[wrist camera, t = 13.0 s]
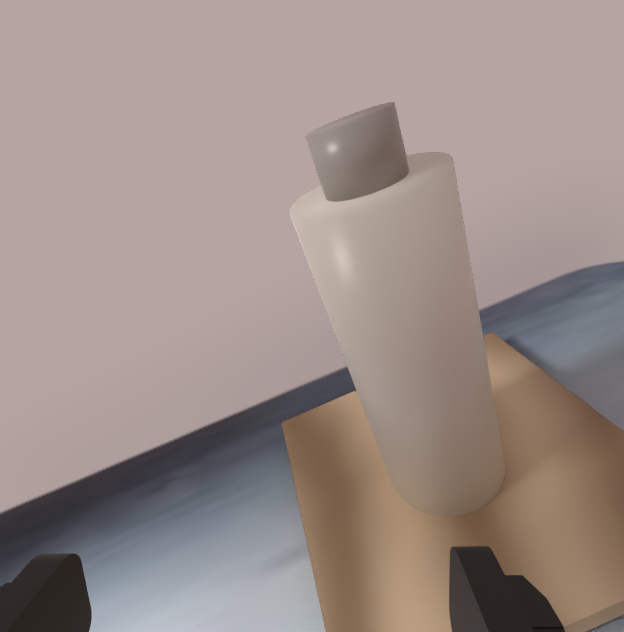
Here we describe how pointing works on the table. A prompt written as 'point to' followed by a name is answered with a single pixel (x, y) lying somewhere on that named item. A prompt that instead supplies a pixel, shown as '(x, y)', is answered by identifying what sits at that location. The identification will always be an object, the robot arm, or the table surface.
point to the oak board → (472, 528)
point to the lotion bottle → (404, 308)
